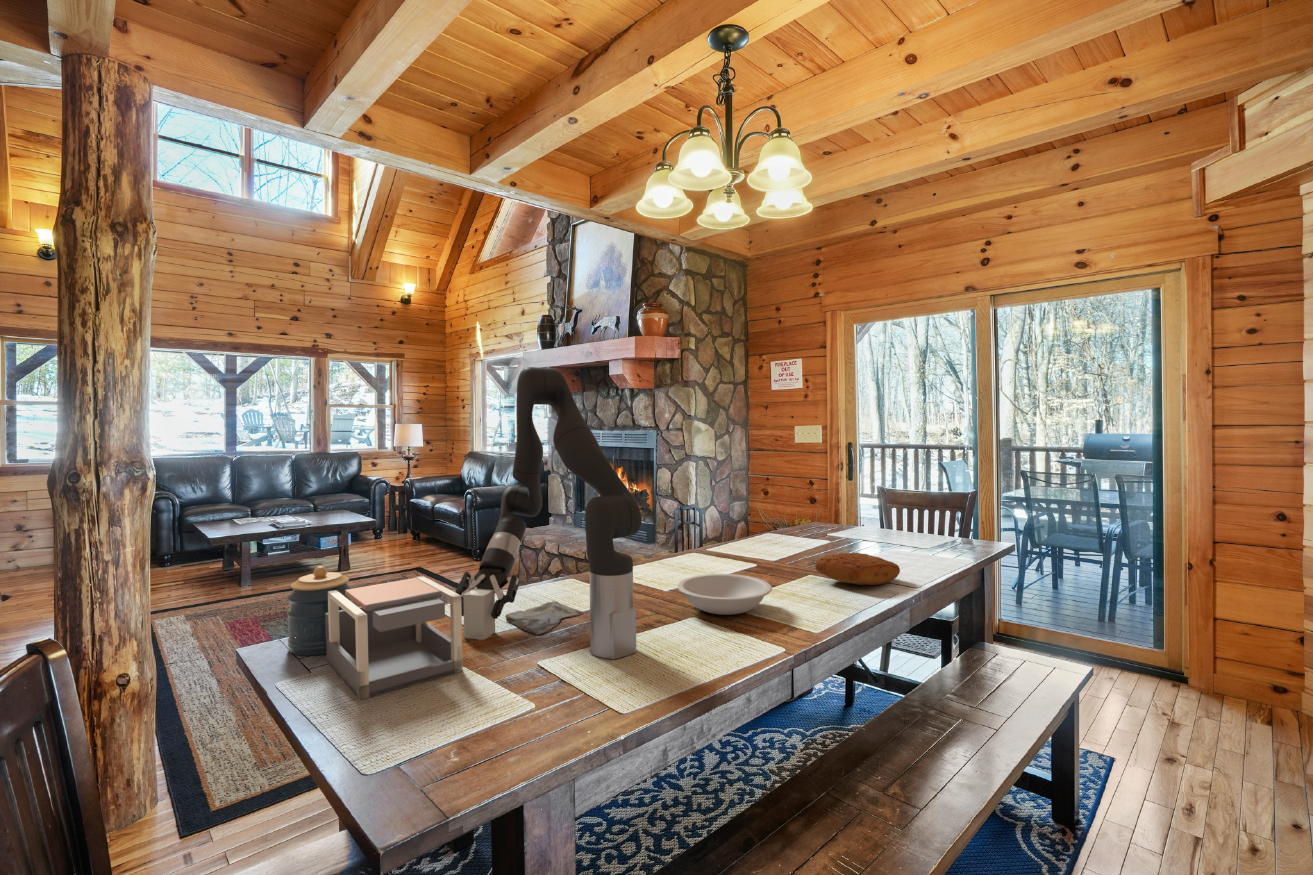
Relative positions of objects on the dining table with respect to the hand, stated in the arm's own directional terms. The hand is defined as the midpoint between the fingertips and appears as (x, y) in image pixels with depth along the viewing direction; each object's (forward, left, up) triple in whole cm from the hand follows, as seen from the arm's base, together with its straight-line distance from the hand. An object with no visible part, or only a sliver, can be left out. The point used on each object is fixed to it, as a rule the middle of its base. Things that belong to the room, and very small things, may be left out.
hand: (476, 615), depth 142 cm
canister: (+18, +28, -5) cm, 33 cm away
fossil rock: (0, -18, -6) cm, 19 cm away
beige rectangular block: (+1, -1, -5) cm, 5 cm away
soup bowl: (-24, -56, -5) cm, 61 cm away
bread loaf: (-32, -105, -5) cm, 110 cm away
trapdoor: (-8, +20, +7) cm, 22 cm away
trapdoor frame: (-5, +20, -5) cm, 21 cm away
